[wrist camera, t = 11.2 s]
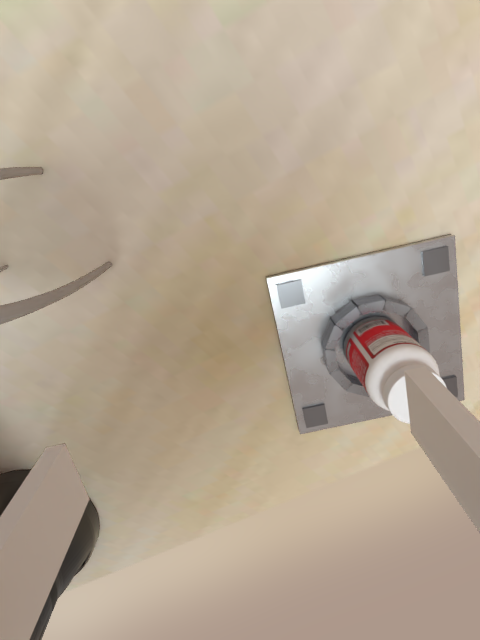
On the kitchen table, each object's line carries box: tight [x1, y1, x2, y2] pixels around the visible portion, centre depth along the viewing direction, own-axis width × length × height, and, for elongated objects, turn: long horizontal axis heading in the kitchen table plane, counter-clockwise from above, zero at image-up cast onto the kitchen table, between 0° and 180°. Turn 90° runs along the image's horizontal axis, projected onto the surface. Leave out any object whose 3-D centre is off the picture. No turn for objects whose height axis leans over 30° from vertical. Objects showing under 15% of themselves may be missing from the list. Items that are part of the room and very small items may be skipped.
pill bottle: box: [344, 317, 447, 424], centre depth 38 cm, size 6×6×11 cm
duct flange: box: [266, 234, 464, 434], centre depth 43 cm, size 18×18×3 cm
